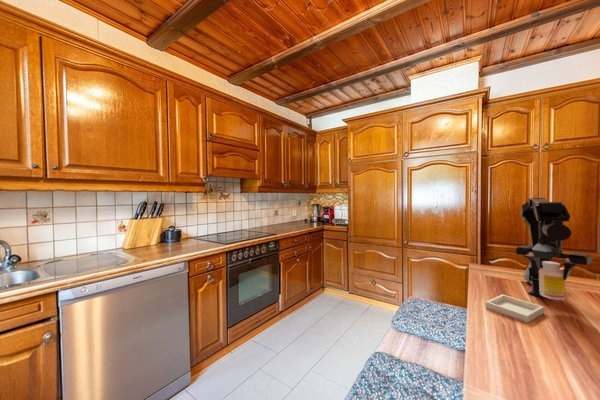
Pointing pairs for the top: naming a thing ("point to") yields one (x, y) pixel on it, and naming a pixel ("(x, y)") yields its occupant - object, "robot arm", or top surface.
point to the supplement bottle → (551, 281)
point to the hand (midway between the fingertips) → (551, 276)
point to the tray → (515, 308)
